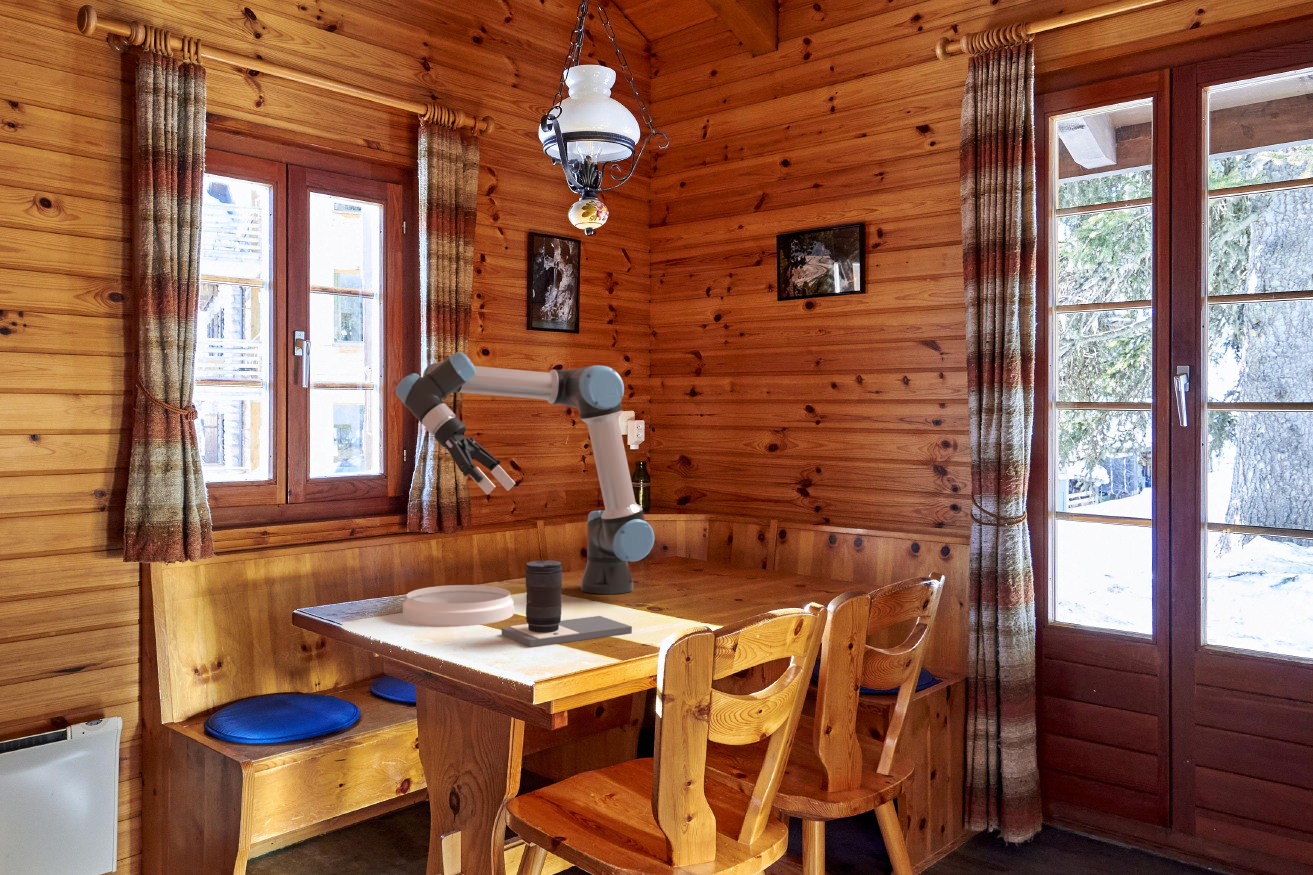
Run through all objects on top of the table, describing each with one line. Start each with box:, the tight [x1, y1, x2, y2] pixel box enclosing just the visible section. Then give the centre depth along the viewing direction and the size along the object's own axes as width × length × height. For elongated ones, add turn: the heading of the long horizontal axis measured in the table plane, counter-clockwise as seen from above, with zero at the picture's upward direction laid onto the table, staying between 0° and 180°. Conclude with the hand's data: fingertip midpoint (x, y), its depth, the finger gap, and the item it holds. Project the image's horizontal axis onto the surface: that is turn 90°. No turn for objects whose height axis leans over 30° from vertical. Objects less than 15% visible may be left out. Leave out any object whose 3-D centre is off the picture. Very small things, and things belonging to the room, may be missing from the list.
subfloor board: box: [501, 615, 633, 648], centre depth 212 cm, size 26×14×2 cm, turn 125°
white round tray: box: [402, 584, 515, 627], centre depth 232 cm, size 27×27×6 cm
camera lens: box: [525, 560, 563, 632], centre depth 208 cm, size 8×8×15 cm
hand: (501, 488), depth 227 cm, fingers open, 13 cm apart
